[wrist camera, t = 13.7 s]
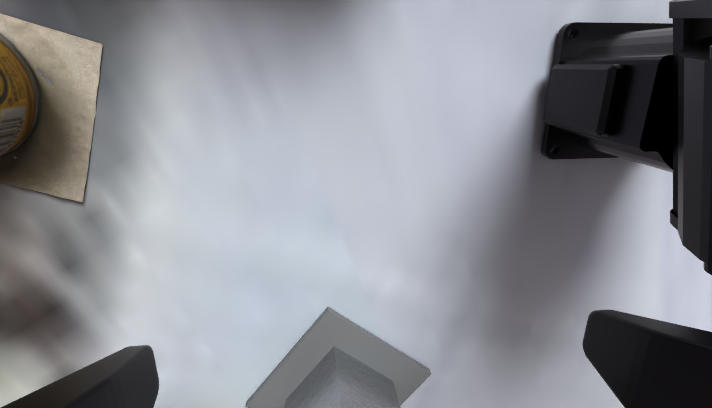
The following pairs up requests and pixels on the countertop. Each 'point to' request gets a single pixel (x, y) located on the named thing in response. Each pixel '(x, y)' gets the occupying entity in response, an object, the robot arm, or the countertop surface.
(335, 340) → the pad
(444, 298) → the countertop surface
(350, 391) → the brushed metal block
